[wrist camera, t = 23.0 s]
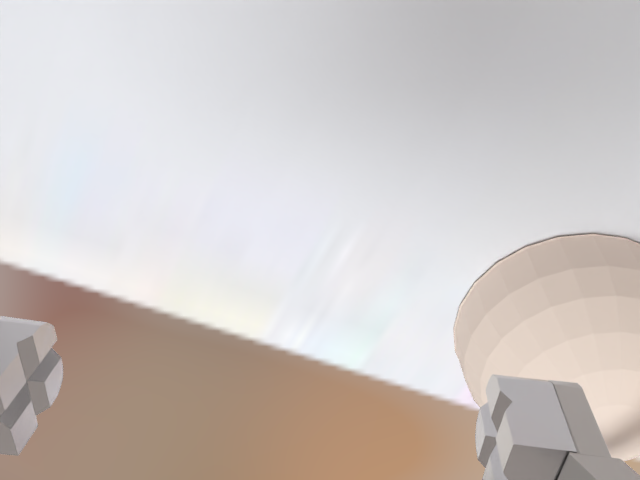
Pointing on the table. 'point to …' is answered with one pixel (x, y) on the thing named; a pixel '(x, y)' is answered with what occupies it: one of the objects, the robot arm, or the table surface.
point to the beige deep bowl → (562, 327)
